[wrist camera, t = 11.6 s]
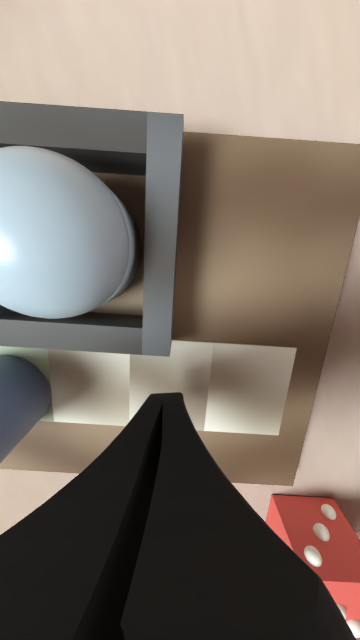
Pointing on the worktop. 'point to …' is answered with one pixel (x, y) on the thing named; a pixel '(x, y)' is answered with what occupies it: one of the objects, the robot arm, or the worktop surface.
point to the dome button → (60, 236)
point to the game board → (194, 289)
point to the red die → (322, 546)
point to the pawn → (20, 400)
